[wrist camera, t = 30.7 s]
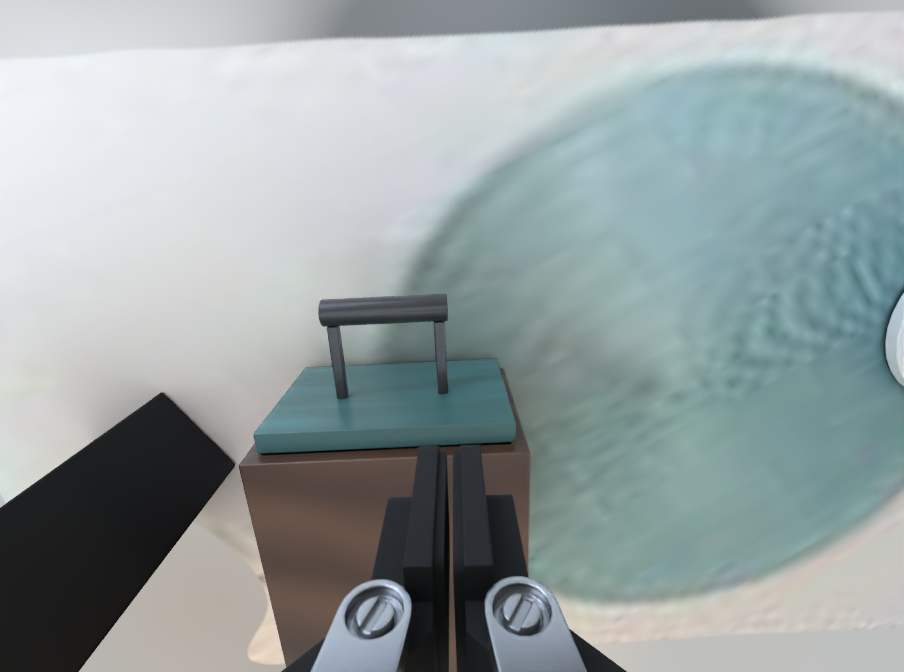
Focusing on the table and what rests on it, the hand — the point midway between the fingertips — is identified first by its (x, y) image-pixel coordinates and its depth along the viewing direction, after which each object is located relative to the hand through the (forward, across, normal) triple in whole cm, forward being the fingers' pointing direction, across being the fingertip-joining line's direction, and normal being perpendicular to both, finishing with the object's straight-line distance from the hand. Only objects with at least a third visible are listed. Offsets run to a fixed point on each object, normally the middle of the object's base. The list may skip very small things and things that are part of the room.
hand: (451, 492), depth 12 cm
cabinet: (+20, +4, +13) cm, 24 cm away
